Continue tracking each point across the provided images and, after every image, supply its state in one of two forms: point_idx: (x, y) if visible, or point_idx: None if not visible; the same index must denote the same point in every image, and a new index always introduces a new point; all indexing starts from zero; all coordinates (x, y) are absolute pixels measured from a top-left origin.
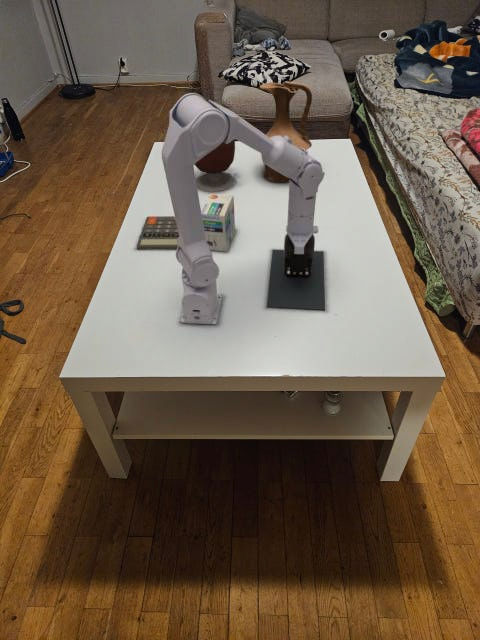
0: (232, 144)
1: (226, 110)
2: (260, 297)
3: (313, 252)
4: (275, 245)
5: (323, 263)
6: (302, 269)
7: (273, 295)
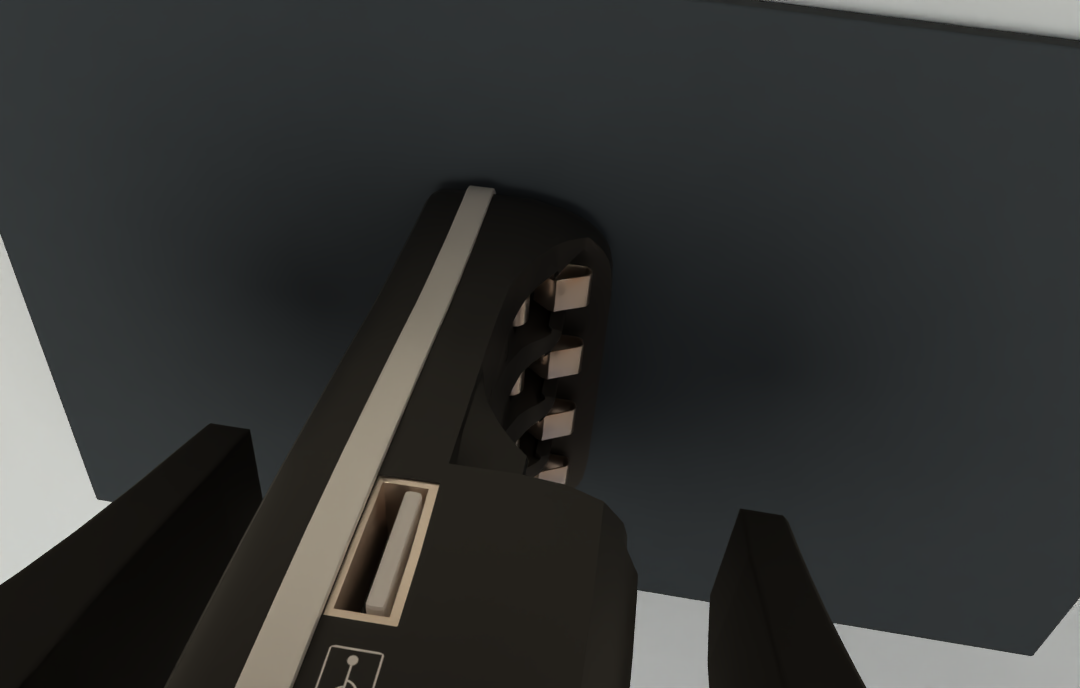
0: None
1: None
2: (851, 654)
3: (579, 606)
4: (2, 452)
5: None
6: (803, 566)
7: (880, 594)
